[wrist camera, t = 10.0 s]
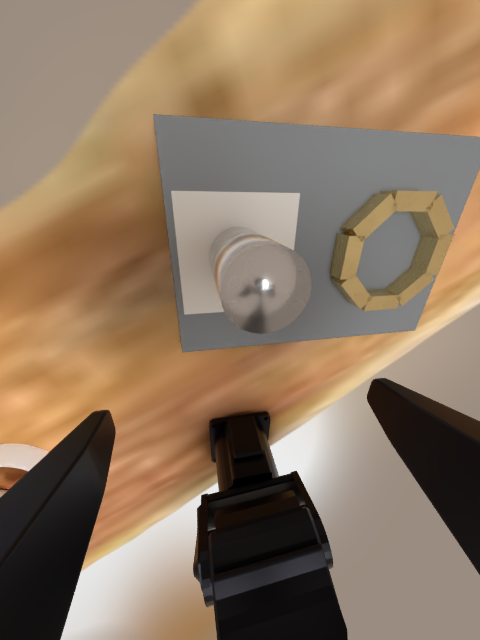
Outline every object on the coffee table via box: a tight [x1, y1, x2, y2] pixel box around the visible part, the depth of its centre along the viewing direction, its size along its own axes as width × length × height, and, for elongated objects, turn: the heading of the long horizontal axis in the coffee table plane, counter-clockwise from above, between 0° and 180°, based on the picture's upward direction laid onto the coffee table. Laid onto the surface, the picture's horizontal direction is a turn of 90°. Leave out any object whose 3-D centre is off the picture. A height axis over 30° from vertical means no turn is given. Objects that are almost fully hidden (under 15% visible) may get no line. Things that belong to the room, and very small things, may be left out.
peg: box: [209, 226, 311, 334], centre depth 13 cm, size 4×4×7 cm
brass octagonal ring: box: [330, 191, 454, 311], centre depth 18 cm, size 8×8×2 cm
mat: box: [171, 191, 300, 315], centre depth 16 cm, size 8×8×1 cm
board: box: [153, 114, 480, 352], centre depth 18 cm, size 15×22×1 cm
